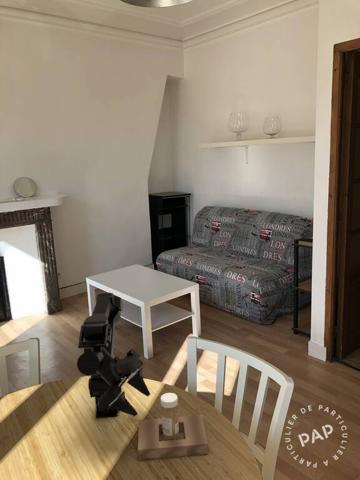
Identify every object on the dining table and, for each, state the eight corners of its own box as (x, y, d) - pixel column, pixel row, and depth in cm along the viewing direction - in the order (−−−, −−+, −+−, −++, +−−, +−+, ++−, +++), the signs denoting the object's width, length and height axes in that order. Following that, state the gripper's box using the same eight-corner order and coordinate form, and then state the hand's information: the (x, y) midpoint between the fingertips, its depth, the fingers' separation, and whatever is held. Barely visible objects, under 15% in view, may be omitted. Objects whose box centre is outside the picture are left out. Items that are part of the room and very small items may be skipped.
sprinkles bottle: (182, 442, 112) (180, 397, 110) (168, 449, 110) (166, 404, 107) (174, 433, 116) (171, 390, 113) (159, 439, 114) (157, 395, 111)
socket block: (138, 460, 107) (137, 450, 106) (139, 429, 118) (138, 420, 118) (208, 453, 108) (207, 443, 107) (202, 424, 120) (202, 414, 119)
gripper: (105, 363, 103) (149, 409, 102) (134, 331, 121) (172, 371, 120) (79, 387, 107) (121, 432, 106) (111, 354, 124) (148, 392, 124)
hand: (143, 404), depth 114 cm, fingers open, 9 cm apart
